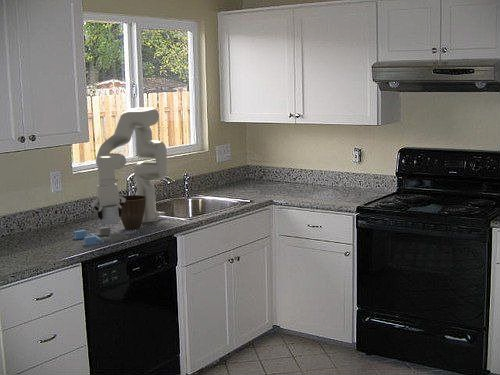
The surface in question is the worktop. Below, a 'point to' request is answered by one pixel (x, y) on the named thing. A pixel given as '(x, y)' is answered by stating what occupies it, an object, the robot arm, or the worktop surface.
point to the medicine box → (110, 215)
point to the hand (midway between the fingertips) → (109, 217)
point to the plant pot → (133, 211)
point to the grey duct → (112, 234)
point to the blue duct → (87, 240)
